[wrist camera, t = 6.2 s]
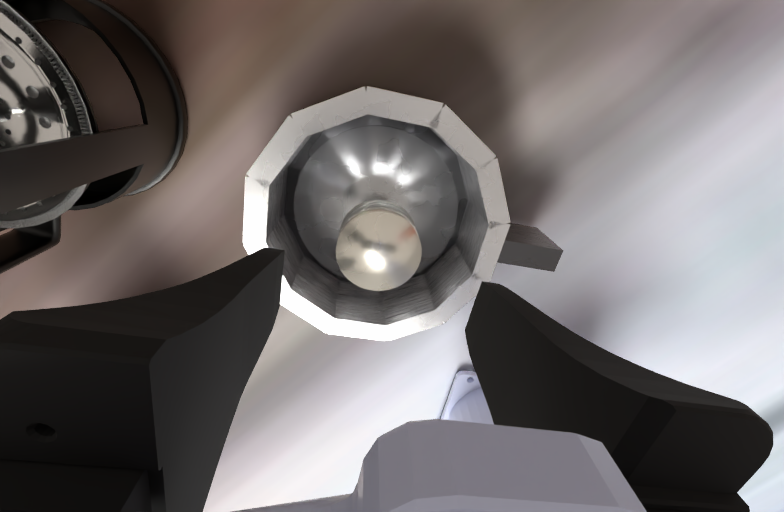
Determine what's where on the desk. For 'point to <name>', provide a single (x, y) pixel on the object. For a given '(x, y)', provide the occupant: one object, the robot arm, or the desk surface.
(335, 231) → the plunger
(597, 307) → the desk surface
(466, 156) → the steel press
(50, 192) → the french press
